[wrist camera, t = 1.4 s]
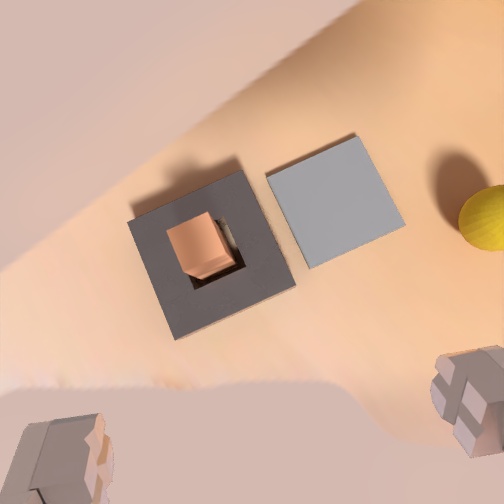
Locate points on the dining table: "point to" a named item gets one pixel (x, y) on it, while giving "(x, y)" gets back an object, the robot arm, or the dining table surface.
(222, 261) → the peg
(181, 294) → the collar block
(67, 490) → the robot arm
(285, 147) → the dining table surface
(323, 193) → the mat
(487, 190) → the lemon
